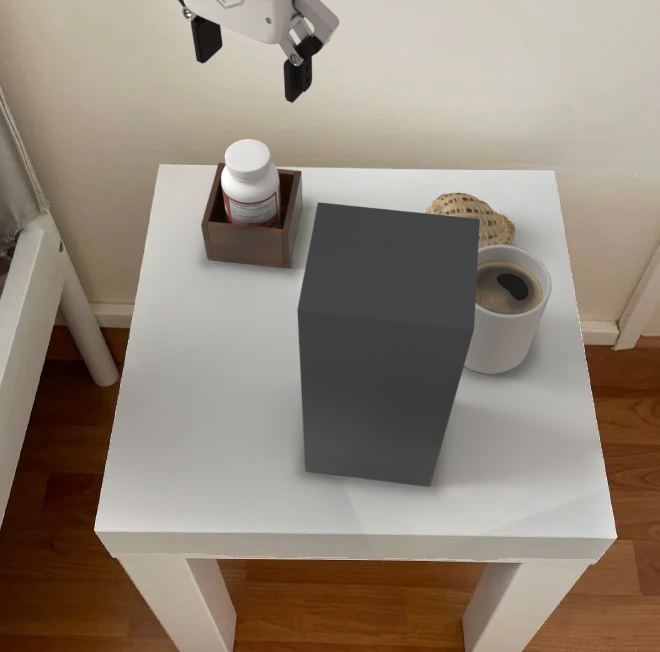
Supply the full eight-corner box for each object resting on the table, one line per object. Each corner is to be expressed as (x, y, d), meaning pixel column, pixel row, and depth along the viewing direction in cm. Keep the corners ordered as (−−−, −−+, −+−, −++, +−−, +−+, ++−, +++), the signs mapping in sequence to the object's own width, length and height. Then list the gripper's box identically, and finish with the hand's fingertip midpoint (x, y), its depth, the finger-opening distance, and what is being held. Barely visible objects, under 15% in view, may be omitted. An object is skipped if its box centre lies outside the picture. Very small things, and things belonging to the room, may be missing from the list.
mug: (543, 360, 84) (569, 302, 75) (460, 387, 82) (476, 330, 73) (497, 282, 89) (516, 219, 80) (418, 306, 87) (428, 244, 78)
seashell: (478, 225, 97) (408, 212, 92) (507, 189, 92) (436, 173, 88) (499, 275, 93) (428, 264, 88) (530, 239, 89) (457, 226, 84)
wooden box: (207, 259, 90) (200, 225, 85) (223, 198, 95) (218, 162, 90) (290, 268, 90) (288, 234, 85) (302, 206, 94) (301, 170, 89)
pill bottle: (240, 202, 94) (231, 127, 84) (290, 215, 93) (286, 141, 83) (220, 241, 91) (207, 167, 81) (271, 255, 90) (264, 182, 80)
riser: (305, 471, 77) (297, 310, 55) (319, 383, 82) (317, 201, 60) (430, 487, 76) (474, 330, 54) (437, 397, 81) (480, 218, 59)
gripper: (108, -140, 59) (152, 62, 74) (307, -66, 54) (311, 134, 69) (171, -183, 62) (201, 19, 77) (364, -117, 57) (356, 84, 72)
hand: (253, 73), depth 73 cm, fingers open, 9 cm apart
